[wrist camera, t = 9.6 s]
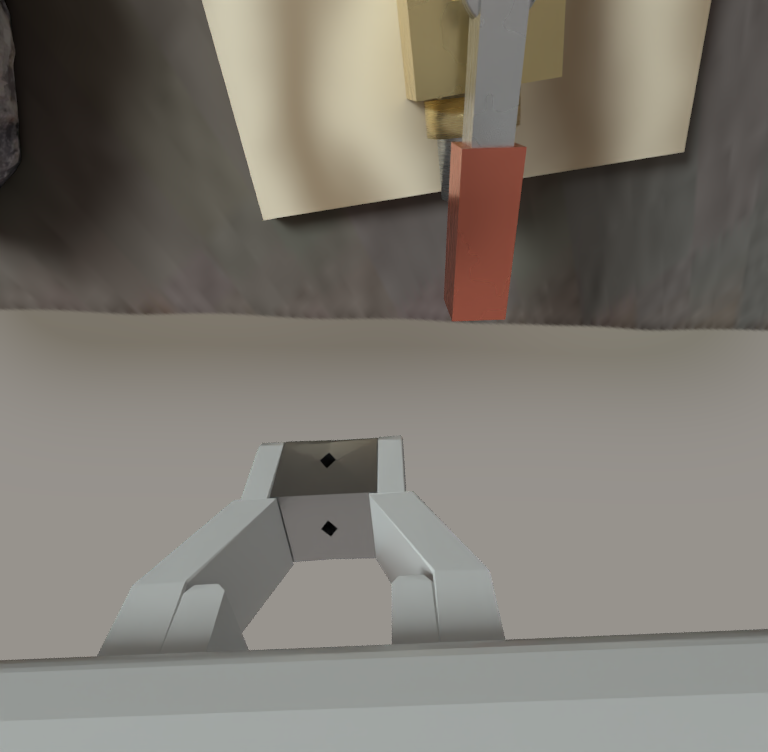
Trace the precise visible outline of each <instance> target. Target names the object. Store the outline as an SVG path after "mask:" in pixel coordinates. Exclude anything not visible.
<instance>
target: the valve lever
mask: <svg viewBox="0 0 768 752" xmlns="http://www.w3.org/2000/svg"><path fill="white" fill-rule="evenodd" d="M461 1H462V4H463V7H464V9H465V11H466V13H467V14H468V16H469V31H468V49H467V66H466V83H465V100H464V118H463V135H462V142H451V158H450V179H449V201H448V222H447V243H446V265H445V286H444V300H445V303H446V306H447V309H448V311H449V314H450V317H451V320H452V321H474V320H501V319H505V317H506V309H507V301H508V293H509V285H510V277H511V269H512V261H513V253H514V245H515V237H516V229H517V221H518V213H519V205H520V197H521V189H522V181H523V173H524V165H525V157H526V149H527V147H525V146H523V145H520V144H517V143H515V142H514V140H515V132H516V123H517V114H518V105H519V96H520V87H521V78H522V69H523V60H524V51H525V42H526V33H527V24H528V15H529V9H530V8H531V7H532V5H533V4H534V2H535V1H536V0H461Z"/></svg>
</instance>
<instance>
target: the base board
mask: <svg viewBox="0 0 768 752" xmlns="http://www.w3.org/2000/svg"><path fill="white" fill-rule="evenodd" d="M202 2H203V6H204V9H205V13H206V16H207V20H208V24H209V27H210V31H211V34H212V38H213V41H214V45H215V49H216V52H217V56H218V59H219V63H220V66H221V70H222V74H223V77H224V81H225V84H226V88H227V91H228V95H229V99H230V102H231V106H232V109H233V113H234V117H235V120H236V124H237V127H238V131H239V134H240V138H241V142H242V145H243V149H244V152H245V156H246V159H247V163H248V167H249V170H250V174H251V177H252V181H253V184H254V188H255V192H256V195H257V199H258V202H259V206H260V209H261V213H262V217H263V220H267V219H274V218H280V217H286V216H292V215H298V214H304V213H311V212H317V211H323V210H329V209H335V208H342V207H348V206H354V205H360V204H366V203H372V202H379V201H385V200H391V199H397V198H403V197H409V196H416V195H422V194H428V193H434V192H440V191H441V183H440V170H439V157H438V144H437V139H428V138H427V131H426V120H425V109H424V101H427V100H424V101H418V102H416V101H412V100H409V99H407V97H406V88H405V78H404V69H403V59H402V49H401V40H400V30H399V21H398V11H397V2H396V0H202ZM710 5H711V0H566V6H565V27H564V47H563V68H562V77H557V78H552V79H546V80H540V81H534V82H528V83H523V84H521V121H520V125H519V126H517V127H516V132H515V140H514V142H515V143H517V144H520V145H523V146H525V147H527V149H526V157H525V165H524V173H523V178H527V177H533V176H539V175H545V174H551V173H558V172H564V171H570V170H576V169H582V168H588V167H595V166H601V165H607V164H613V163H619V162H625V161H632V160H638V159H644V158H650V157H656V156H662V155H669V154H675V153H681V152H684V150H685V144H686V138H687V133H688V127H689V122H690V116H691V111H692V105H693V99H694V94H695V88H696V83H697V77H698V72H699V66H700V60H701V55H702V49H703V44H704V38H705V33H706V27H707V21H708V16H709V10H710Z"/></svg>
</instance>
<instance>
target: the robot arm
mask: <svg viewBox="0 0 768 752" xmlns="http://www.w3.org/2000/svg"><path fill="white" fill-rule="evenodd" d="M351 558H352V559H354V558H376V560H377V561H378V563H379V565H380V566H381V568H382V569H383V571H384V573H385V574H386V576H387V577H388V579H389V580H390V582H391V584H392V645H370V646H369V645H368V646H345V647H323V648H322V647H321V648H298V649H297V648H296V649H270V650H248V647H247V645H246V642H245V640H244V637H243V635H242V632H243V631H244V629H245V628H246V627H247V626H248V624H249V623H250V622H251V620H252V619H253V618H254V616H255V615H256V614H257V612H258V611H259V610H260V608H261V607H262V606H263V604H264V603H265V602H266V600H267V599H268V598H269V596H270V595H271V594H272V592H273V591H274V590H275V588H276V587H277V586H278V584H279V583H280V582H281V580H282V579H283V578H284V577H285V575H286V574H287V573H288V571H289V570H290V569H291V567H292V566H293V562H299V561H312V560H326V559H351ZM0 752H768V629H759V630H734V631H709V632H684V633H660V634H637V635H610V636H586V637H562V638H537V639H513V640H512V639H511V640H505V636H504V632H503V627H502V623H501V619H500V614H499V610H498V605H497V601H496V596H495V592H494V588H493V583H492V579H491V574H490V570H489V569H488V568H487V567H486V566H485V565H484V564H483V563H482V562H481V561H480V560H479V559H478V558H477V557H476V556H475V555H474V554H473V553H472V552H471V551H470V550H469V548H468V547H467V546H466V545H465V544H464V543H463V542H462V541H461V540H460V539H459V538H458V537H457V536H456V535H455V534H454V533H453V532H452V531H451V530H450V529H449V528H448V527H447V526H446V525H445V524H444V523H443V522H442V521H441V520H440V518H439V517H437V515H436V514H434V512H433V511H432V510H431V509H430V508H429V507H428V506H427V505H426V504H425V503H424V502H423V501H422V500H421V499H420V498H419V497H418V496H417V495H416V494H415V493H414V492H413V491H412V492H406V482H405V466H404V451H403V438H402V436H388V437H379V438H367V439H351V440H350V439H349V440H332V441H331V440H328V441H299V442H297V441H295V442H274V443H262V444H261V445H260V446H259V448H258V450H257V453H256V456H255V459H254V463H253V465H252V468H251V471H250V474H249V477H248V480H247V483H246V486H245V489H244V492H243V494H242V497H241V500H234V501H232V502H231V503H230V504H229V505H227V506H226V507H225V508H224V509H223V510H221V511H220V512H219V513H218V514H217V515H215V516H214V517H213V518H212V519H211V520H210V521H208V522H207V523H206V524H205V525H204V526H203V527H201V528H200V529H199V530H198V531H196V532H195V533H194V534H193V535H192V536H191V537H189V538H188V539H187V540H186V541H185V542H183V543H182V544H181V545H180V546H179V547H177V548H176V549H175V550H174V551H173V552H171V553H170V554H169V555H168V556H167V557H166V558H164V559H163V560H162V561H161V562H160V563H158V564H157V565H156V566H155V567H154V568H153V569H151V570H150V571H149V572H148V573H147V574H145V575H144V576H143V577H142V578H141V579H139V580H138V581H137V582H136V583H135V584H133V585H132V587H131V589H130V591H129V593H128V595H127V597H126V599H125V601H124V603H123V605H122V607H121V609H120V611H119V613H118V615H117V617H116V619H115V621H114V623H113V625H112V627H111V629H110V631H109V633H108V635H107V637H106V639H105V641H104V643H103V645H102V648H101V649H100V651H99V654H98V655H97V656H96V657H71V658H48V659H47V658H45V659H22V660H0Z"/></svg>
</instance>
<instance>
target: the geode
mask: <svg viewBox="0 0 768 752" xmlns="http://www.w3.org/2000/svg"><path fill="white" fill-rule="evenodd" d="M14 58H15V48H14V43H13V38H12V26H11V16H10V14H9V11H8V9H7V6H6V4H5V1H4V0H0V188H1V186H2V185H3V184H4V183H5V181H6V180H7V179H8V178H9V177H10V176H11V175H13V174H14V172H15V171H16V169H17V167H18V165H19V164H20V162H21V149H20V141H19V133H18V130H19V118H18V108H17V98H16V89H15V79H14V69H13V63H14Z"/></svg>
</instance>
